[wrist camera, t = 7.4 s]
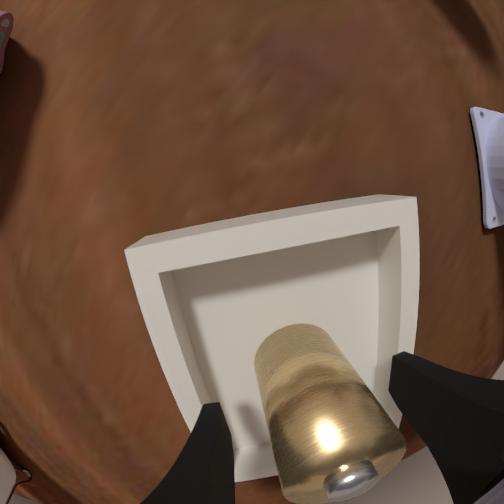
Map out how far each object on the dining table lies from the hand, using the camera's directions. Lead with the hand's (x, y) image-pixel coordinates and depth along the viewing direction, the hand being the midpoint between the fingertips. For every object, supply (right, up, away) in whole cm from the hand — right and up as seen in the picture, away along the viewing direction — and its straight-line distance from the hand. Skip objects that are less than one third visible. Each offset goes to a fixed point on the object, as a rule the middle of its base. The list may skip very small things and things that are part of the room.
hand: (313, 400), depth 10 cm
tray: (0, +1, +4) cm, 4 cm away
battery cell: (0, +1, +3) cm, 3 cm away
